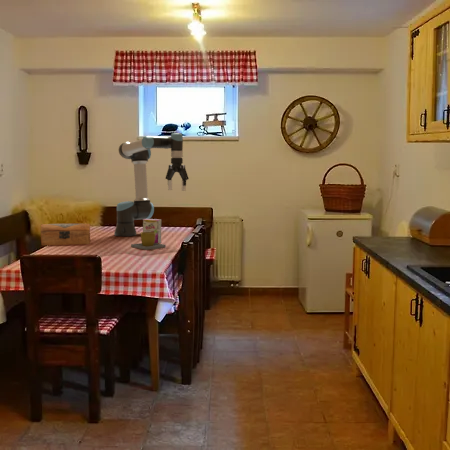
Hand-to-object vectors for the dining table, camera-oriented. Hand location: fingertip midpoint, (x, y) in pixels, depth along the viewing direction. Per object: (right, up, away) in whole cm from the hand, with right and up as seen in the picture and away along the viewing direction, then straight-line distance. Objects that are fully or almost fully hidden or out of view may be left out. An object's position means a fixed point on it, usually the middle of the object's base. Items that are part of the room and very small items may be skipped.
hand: (176, 190), depth 395 cm
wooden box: (-70, -36, -9) cm, 79 cm away
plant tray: (-16, -37, -20) cm, 45 cm away
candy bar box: (-16, -35, -2) cm, 39 cm away
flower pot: (-16, -36, -20) cm, 45 cm away
